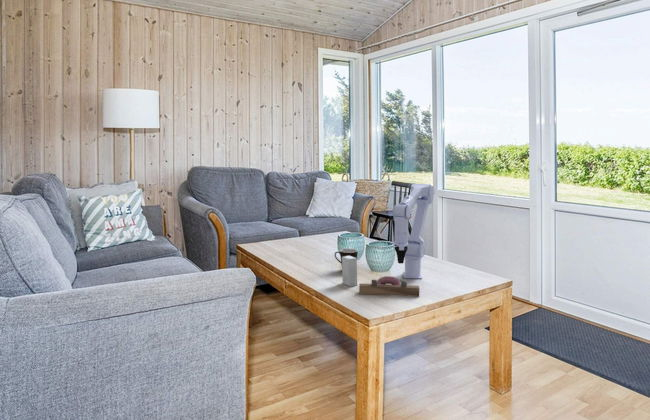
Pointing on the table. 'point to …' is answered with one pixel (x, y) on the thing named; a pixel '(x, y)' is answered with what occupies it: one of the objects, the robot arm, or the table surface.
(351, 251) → the coffee mug
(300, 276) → the table surface
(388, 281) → the video game controller
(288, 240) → the table surface
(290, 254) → the table surface
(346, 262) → the skincare box
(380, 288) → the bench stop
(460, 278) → the table surface
